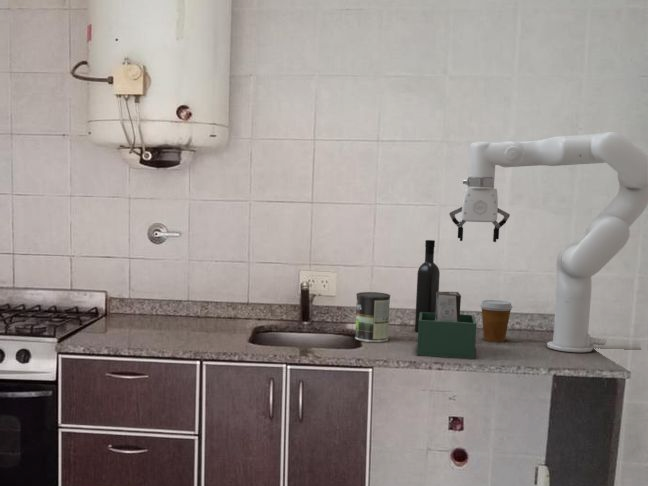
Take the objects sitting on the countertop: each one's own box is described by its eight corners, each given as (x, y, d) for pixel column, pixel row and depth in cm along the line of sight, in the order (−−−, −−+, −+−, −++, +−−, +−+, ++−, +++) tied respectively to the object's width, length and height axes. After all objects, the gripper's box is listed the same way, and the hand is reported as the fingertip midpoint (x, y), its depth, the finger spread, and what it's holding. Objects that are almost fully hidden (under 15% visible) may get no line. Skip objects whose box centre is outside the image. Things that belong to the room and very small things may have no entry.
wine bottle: (413, 331, 268) (417, 240, 265) (423, 329, 272) (427, 239, 268) (428, 333, 264) (432, 241, 260) (438, 331, 268) (442, 240, 264)
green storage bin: (472, 348, 241) (474, 315, 240) (474, 359, 226) (476, 323, 225) (418, 344, 245) (419, 312, 244) (417, 355, 230) (418, 320, 229)
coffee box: (458, 352, 231) (461, 295, 229) (435, 350, 232) (437, 294, 230) (456, 345, 239) (459, 291, 237) (433, 344, 241) (436, 290, 239)
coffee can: (355, 341, 248) (357, 296, 246) (354, 335, 258) (355, 291, 257) (390, 343, 247) (392, 297, 245) (387, 336, 257) (388, 292, 256)
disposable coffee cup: (476, 341, 253) (478, 302, 251) (480, 336, 262) (482, 299, 260) (508, 344, 249) (510, 305, 247) (512, 338, 257) (514, 301, 256)
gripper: (451, 183, 241) (448, 241, 243) (512, 184, 237) (509, 243, 239) (450, 183, 248) (447, 239, 250) (510, 184, 244) (507, 241, 246)
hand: (477, 241), depth 244 cm, fingers open, 9 cm apart
